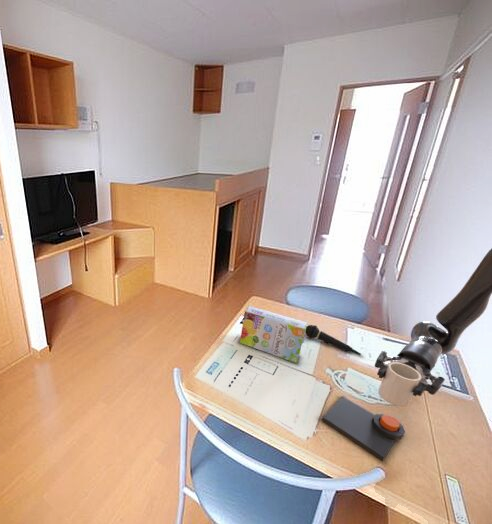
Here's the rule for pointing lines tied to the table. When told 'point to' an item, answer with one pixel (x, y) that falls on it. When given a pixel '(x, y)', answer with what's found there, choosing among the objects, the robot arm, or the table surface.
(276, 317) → the snack box
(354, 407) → the scale
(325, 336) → the microphone
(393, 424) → the button
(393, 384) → the cup
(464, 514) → the table surface
